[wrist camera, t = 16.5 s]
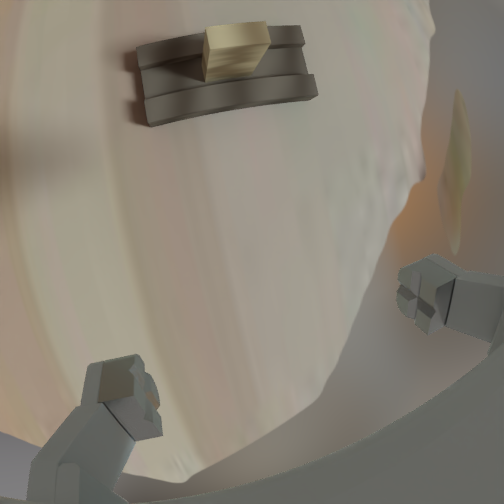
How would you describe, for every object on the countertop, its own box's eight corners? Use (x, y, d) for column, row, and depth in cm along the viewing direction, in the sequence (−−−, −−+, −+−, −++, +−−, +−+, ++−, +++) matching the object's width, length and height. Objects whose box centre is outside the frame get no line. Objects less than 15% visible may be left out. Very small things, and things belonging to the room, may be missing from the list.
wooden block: (205, 82, 32) (210, 49, 22) (201, 64, 31) (205, 26, 21) (250, 75, 32) (271, 42, 23) (246, 57, 32) (265, 20, 22)
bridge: (151, 127, 33) (147, 123, 30) (139, 56, 30) (136, 47, 27) (309, 100, 36) (318, 95, 33) (292, 34, 33) (300, 25, 30)
